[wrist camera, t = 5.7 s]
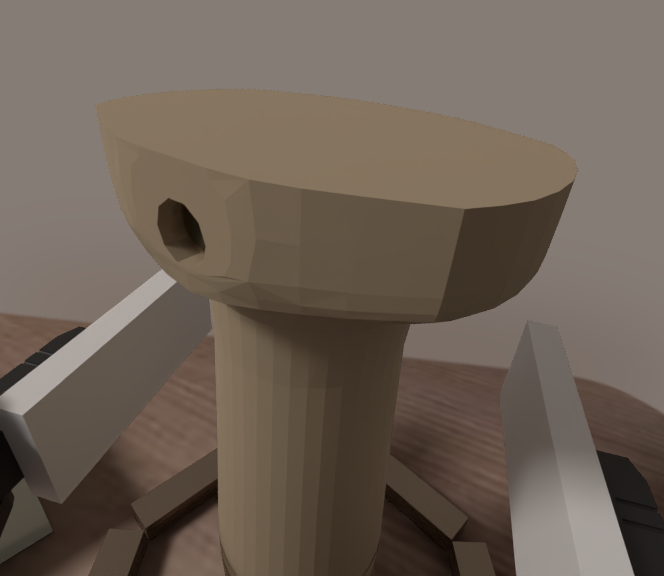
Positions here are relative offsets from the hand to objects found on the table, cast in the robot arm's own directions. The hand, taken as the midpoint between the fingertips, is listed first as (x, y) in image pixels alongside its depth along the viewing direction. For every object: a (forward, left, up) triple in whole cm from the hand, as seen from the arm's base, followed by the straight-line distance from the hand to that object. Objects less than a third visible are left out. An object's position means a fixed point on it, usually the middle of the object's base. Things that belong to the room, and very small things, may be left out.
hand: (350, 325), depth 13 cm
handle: (-2, +4, -9) cm, 10 cm away
